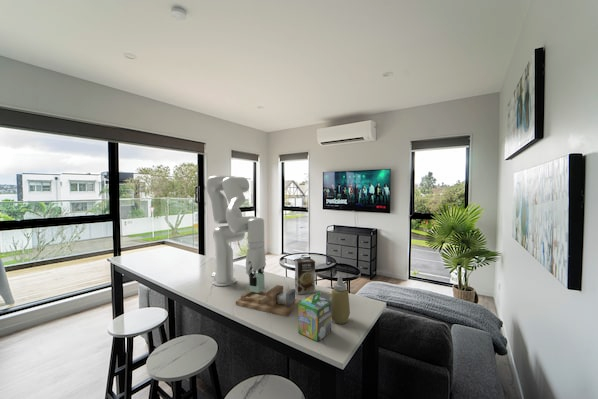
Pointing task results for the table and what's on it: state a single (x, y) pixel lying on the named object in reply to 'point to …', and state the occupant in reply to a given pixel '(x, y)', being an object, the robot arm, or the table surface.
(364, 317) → the table surface
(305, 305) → the chalk box
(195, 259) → the table surface
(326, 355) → the table surface
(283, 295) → the grey rectangular box
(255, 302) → the jig
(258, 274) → the spacer block
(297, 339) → the table surface
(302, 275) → the coffee box
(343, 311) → the squeeze bottle
